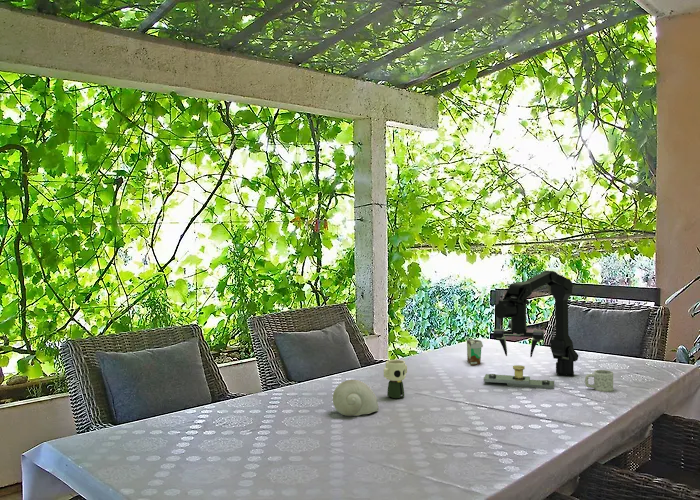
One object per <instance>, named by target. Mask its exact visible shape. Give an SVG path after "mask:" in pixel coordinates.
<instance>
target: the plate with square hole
mask: <svg viewBox="0 0 700 500" xmlns="http://www.w3.org/2000/svg"><path fill="white" fill-rule="evenodd" d="M483 382H484V383H496V384H497V383H500V384H501V383H502V384H507V385H506V386H507V387H514V388H516V387H517V388H527V389H528V388H529V389H530V388H531V389H546V390H555V380H548V379H542V380H541V379H531V376H527V375H523V380H516V379H515V375H506V374H496V373H486V374H485V375H484V377H483Z"/></svg>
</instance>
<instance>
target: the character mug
mask: <svg viewBox="0 0 700 500" xmlns="http://www.w3.org/2000/svg"><path fill="white" fill-rule="evenodd" d="M407 373H408V365H407V364H406V361H404V360H403V359H402V360H401V359H389V360H386V361H385V368H383V378H386V380H388V381H389V382H388V384H387V392H386V393H387V396H388V397H390V398H391V399H400V398H401V396H402V398H404V397H405V389H404V383H403V381H405V379H406V375H407Z"/></svg>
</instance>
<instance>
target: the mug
mask: <svg viewBox="0 0 700 500" xmlns="http://www.w3.org/2000/svg"><path fill="white" fill-rule="evenodd" d="M589 378H593V384H589ZM584 381H585V386H586V387H587V388H590V389H591V388H592V389H593V390H595V391H597V392H604V393H611V392H613V391H614V371H612V370H606V369H597V370H594V372H593V373H589V374H586V375H585V378H584Z"/></svg>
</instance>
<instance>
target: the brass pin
mask: <svg viewBox="0 0 700 500" xmlns="http://www.w3.org/2000/svg"><path fill="white" fill-rule="evenodd" d="M512 369H513V370H514V376H515V379H516V380H523V376H524V370H525V369H526V367H525V365H519V364H518V365H517V364H516V365H512Z"/></svg>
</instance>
